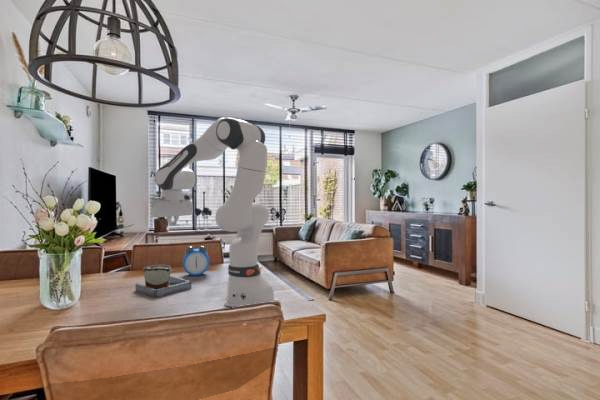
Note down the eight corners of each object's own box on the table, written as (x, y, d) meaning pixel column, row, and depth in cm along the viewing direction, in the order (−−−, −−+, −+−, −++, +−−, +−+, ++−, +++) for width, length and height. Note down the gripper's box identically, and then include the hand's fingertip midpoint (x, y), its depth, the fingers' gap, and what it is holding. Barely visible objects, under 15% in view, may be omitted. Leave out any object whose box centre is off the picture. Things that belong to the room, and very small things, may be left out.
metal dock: (191, 287, 143) (191, 281, 143) (155, 297, 129) (154, 290, 129) (171, 281, 152) (171, 275, 152) (135, 290, 138) (135, 283, 138)
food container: (175, 285, 146) (175, 264, 146) (170, 289, 140) (170, 267, 140) (148, 285, 146) (148, 264, 145) (142, 290, 139) (142, 267, 139)
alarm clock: (182, 277, 161) (182, 247, 160) (183, 274, 167) (183, 245, 166) (209, 275, 165) (209, 246, 165) (209, 272, 171) (209, 244, 170)
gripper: (154, 197, 140) (155, 228, 140) (194, 196, 157) (195, 224, 157) (147, 197, 144) (148, 227, 144) (186, 196, 161) (187, 224, 161)
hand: (172, 226), depth 151 cm, fingers closed
